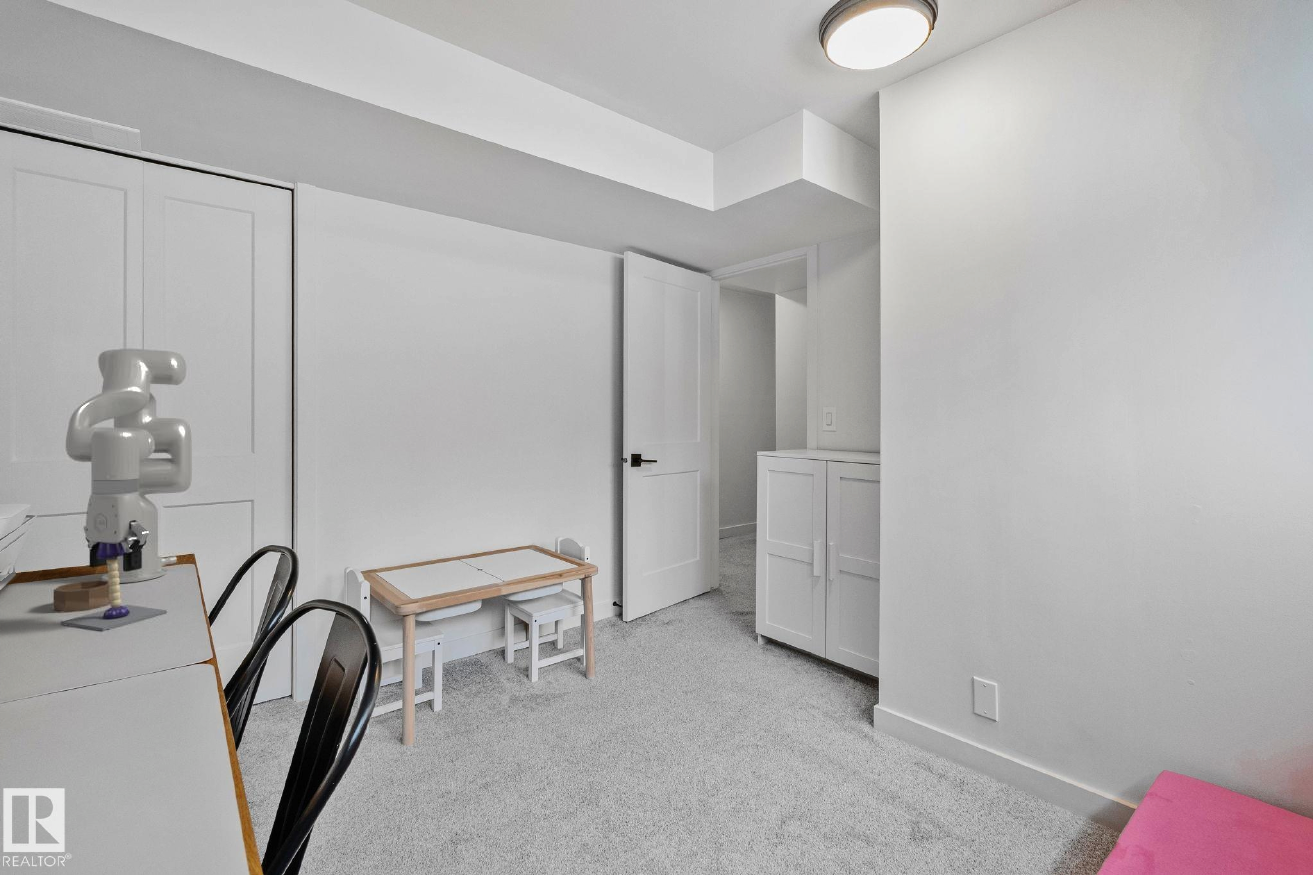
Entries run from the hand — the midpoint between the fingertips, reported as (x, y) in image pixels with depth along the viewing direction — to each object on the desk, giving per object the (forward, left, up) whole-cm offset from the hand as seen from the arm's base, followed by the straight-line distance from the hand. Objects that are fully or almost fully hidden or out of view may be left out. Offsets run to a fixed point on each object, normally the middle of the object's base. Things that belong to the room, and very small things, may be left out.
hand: (115, 568), depth 126 cm
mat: (0, 0, -11) cm, 11 cm away
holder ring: (-4, -16, -11) cm, 20 cm away
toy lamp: (0, 0, -10) cm, 10 cm away
